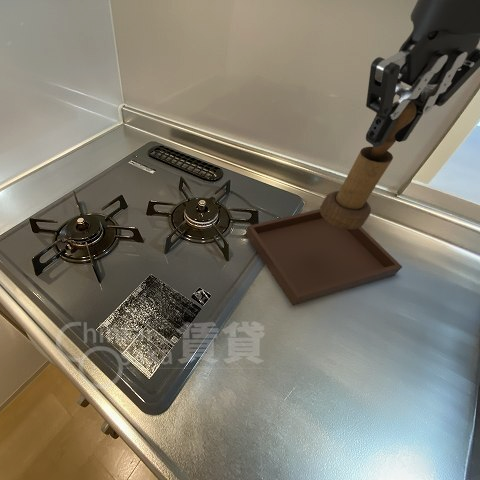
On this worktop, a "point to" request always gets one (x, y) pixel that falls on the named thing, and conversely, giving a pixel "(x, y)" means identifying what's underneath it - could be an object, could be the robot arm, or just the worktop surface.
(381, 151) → the mortar and pestle
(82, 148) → the worktop surface
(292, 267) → the tray
